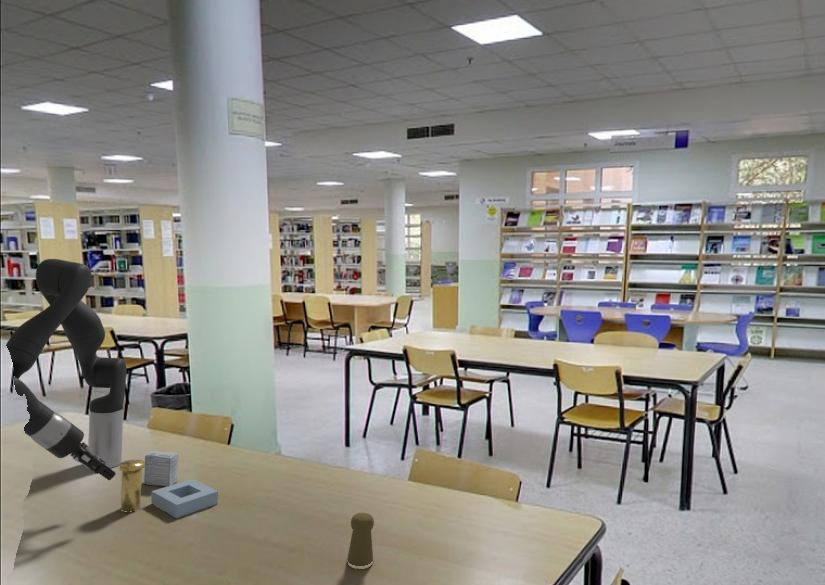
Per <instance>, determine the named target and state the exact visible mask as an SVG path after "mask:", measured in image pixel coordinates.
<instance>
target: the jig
mask: <svg viewBox="0 0 825 585" xmlns="http://www.w3.org/2000/svg"><path fill="white" fill-rule="evenodd" d="M150 498H151V501H150V504H151V503H152V504H154V505H155V506H157V507H159V508H160V509H159V508H158V509H159V510H161V509H162V510H161V511H162V512H164V511H165V512H164V513H166V512H167V513H166V514H168V515H169V516H172V517H174V519H175V518H176V519H179V518H181V517H185V516H186V515H187V516H188V515H190V514H192V513H196V512H198V511H201V510H204V509H207V508H210V507H213V506H215V505H218V500H219V491H218V490H217V489H214V488H212V487H211V486H208V485H206V484H204V483H202V482H199V480H195V479H193V478H192V479H188V480H185V481H181V482H178V483H177V482H176V483H174V484H173V485H171V486H163V487H162V488H158V489H154V490H152V491H151V497H150ZM152 504H151V505H152ZM154 505H153V506H154ZM155 506H154V507H155ZM157 507H156V508H157Z"/></svg>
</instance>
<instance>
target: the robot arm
mask: <svg viewBox="0 0 825 585" xmlns="http://www.w3.org/2000/svg"><path fill="white" fill-rule="evenodd" d="M92 278H93V275H92V270H91V269H90V267H89V266H87V265H86V264H83V263H80V262H75V261H69V260H64V259H60V258H46V259H44V260H42V261H41V262H40V263H39V264H38V265H37V268H36V271H35V281H36V286H37V288H38V290H39V291H40V294H41V295H42V296H43V297H44V299H45V300H46V302H47V303H48V304H49V306H47V307H46V308H44V309H43V310H41V311H40V312H39V313H38V314H36V315H34V316H32V317H31V318H29V319H28V320H26V321H25V322H23V323H22V324H21V325H19V326H18V328H17V329H16V330H15V331H14V332H13V333H12V334H11V336H10V337H9V339H8V340H7V342H6V343H5V345H6V346H7V348H8V350H9V352H10V355H11V359H12V362H13V367H14V376H15V377H14V385H15V390H16V392H17V394H18V395H20V396H23V394H25V396H26V399H27V405H28V407H27V411H28V412H29V414H30V419H29V422H28V423H27V424H26V425H25V427H24V431H25V433H24V434H25V435H27V436H28V437H29V438H31V439H32V441H34V442H35V443H37V445H39V446H40V447H42V448H44V449H45V450H46V451H48V452H49V453H50V454H52V455H53V456H55V457H56V458H57V459H64V458H67V457H68V456H70V457H72V459H73V460H75V462H77V463H80V464H81V465H83V467H85V468H86V469H89V470H91V471H92V472H93V473H94V474H96V475H98V474H99V475H101V477H103V478H105V480H108V481H111V480H112V479H113V478H114V477H115V476H116V475H117V474H116V472H115V471H114V470H113V469H111V468H116V467H117V466H120V463H122V462H123V461H122V459H123V458H122V455H123V454H122V453H123V429H124V428H123V427H124V424H123V423H124V405H125V404H124V403H125V397H126V396H125V395H126V394H125V392H126V380H127V379H126V378H127V370H128V369H127V363H126V361H125V359H123V358H120V357H101V356H98V355H97V354H96V353H97V352H98V350H99V349H100V348H101V347H102V345H103V343H104V341H105V338H106V330H105V329H104V325H103V323H102V321H101V318H100V316H99V314H98V313H97V312H96V311H95V310H93V309H92V308H91V307H90V306H89V305H88V304H86V303H85V302H84V301H82V300H83V299H84V297H85V296H86V295H87V293H88V290H89V289H90V287H91V285H92ZM60 325H61V327H62V329H63V332H64V334H65V336H66V337H67V340H68V341H69V343H70V345H71V348H72V349H73V351H74V354H75V356H76V358H77V360H78V365H79V367H80V369H81V374H82V376H83V379H84V381H85V383H86V384H87V385H88V386H89V387H91V388H99V389H100V388H101V389H103V388H104V389H109V392H108V394H106V395H102V396H100V397H96V398H94V399H91V401H90V402H89V414H88V421H89V422H88V444H87V443H85V442H84V441H83V440H84V437H85V434H84V431H83V430H82V429H80V428H78V427H77V426H76V425H74V424H73V423H72V422H70V421H69V420H68V419H66V418H65V417H63V415H60V413H57V412H55V411H54V410H53V409H52V408H50V407H48V406H47V405H46V404H44V403H43V402H42V401H40V400H39V399H38V398H37V396H36V395H35V394H34V392H32V390H31V389H30V388H29V387H28V386H27V385H26V383H24V382H23V381H22V380H21V379H20V378H21V377H22V375H24V374H25V373H27V372H28V371H30V369H31V368H32V367H33V366H34V364H35V363H36V362H37V359H38V358H39V356H40V355H41V353H42V351H43V349H44V348H45V346H46V345H47V343H48V342H49V340H50V338H51V337H52V336H53V334H54V333H55V331H56V330H57V329H58V328H59V327H60ZM81 442H82V443H81Z"/></svg>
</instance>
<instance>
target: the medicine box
mask: <svg viewBox="0 0 825 585" xmlns="http://www.w3.org/2000/svg"><path fill="white" fill-rule="evenodd" d="M178 458H179V453H177V452H170V451H168V452H167V451H158V450H153V451H151V452H149V453H147V454H146V455H145V456H144V462H145V466H144V476H143V477H144V479H143V482H144V483H143V484H144V485H145V484H147V485H148V486H159V487H167V486H171V485H174V484H176V483H177V482H178V466H179V465H178V463H179V462H178V460H179V459H178Z"/></svg>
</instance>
